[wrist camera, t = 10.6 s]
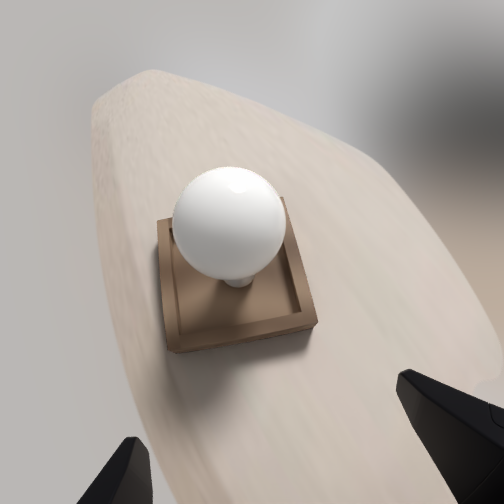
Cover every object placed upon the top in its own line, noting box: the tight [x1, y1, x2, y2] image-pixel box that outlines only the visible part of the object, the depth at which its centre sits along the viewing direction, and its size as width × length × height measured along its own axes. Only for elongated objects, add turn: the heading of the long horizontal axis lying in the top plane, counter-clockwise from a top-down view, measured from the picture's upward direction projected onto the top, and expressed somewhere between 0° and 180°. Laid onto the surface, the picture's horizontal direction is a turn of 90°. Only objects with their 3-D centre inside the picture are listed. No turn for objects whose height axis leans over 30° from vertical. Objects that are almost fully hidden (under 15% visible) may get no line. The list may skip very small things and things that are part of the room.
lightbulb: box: [172, 167, 286, 288], centre depth 19 cm, size 6×6×11 cm
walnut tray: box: [157, 197, 318, 353], centre depth 24 cm, size 11×11×2 cm
